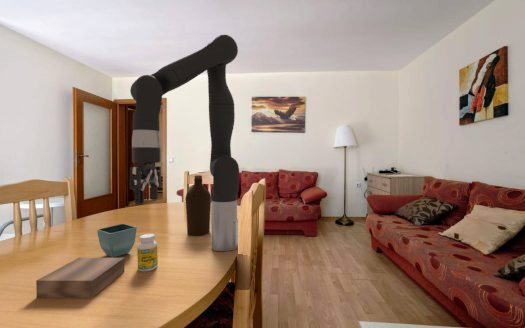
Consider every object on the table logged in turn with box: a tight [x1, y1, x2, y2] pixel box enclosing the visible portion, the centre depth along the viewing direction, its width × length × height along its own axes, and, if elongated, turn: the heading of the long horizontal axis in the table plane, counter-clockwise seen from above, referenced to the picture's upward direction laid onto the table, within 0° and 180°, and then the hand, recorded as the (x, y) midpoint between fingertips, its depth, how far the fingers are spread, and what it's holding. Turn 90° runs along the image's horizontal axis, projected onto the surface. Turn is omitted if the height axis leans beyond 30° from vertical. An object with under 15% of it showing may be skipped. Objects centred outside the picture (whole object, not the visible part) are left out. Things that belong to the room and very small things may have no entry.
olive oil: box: [185, 174, 212, 237], centre depth 105 cm, size 11×11×25 cm
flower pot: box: [96, 223, 137, 258], centre depth 82 cm, size 9×9×9 cm
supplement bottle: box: [136, 233, 159, 272], centre depth 72 cm, size 5×5×10 cm
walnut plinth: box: [35, 257, 125, 299], centre depth 63 cm, size 13×13×4 cm
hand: (147, 201), depth 72 cm, fingers open, 8 cm apart
